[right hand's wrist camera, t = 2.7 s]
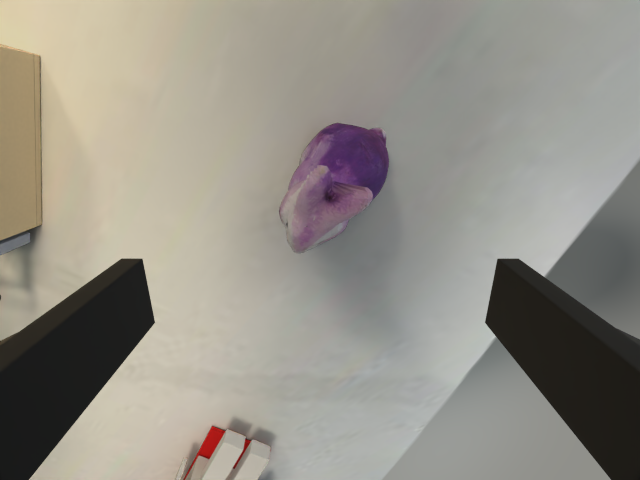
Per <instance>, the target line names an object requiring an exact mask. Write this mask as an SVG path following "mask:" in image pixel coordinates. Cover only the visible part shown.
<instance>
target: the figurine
mask: <svg viewBox="0 0 640 480" xmlns="http://www.w3.org/2000/svg"><path fill="white" fill-rule="evenodd" d="M388 166H389V158H388V152H387V148H386V133H385V131H384V130H383V129H381V128H373V129H370V130H367V129H365V128H361V127H357V126H353V125H347V124H340V123H335V124H332V125H330V126H327V127H326V128H324V129H323V130H321V131H320V132H319V133H318V134H317V135H316V136H315V138H314V139H313V140H312V141H311V142H310V143H309V145H308V146H307V147H306V149H305V150H304V152H303V153H302V156H301V159H300V163H299V167H298V168H297V169H296V171H295V172H294V174H293V176H292V179H291V181H290V183H289V188H288V192H287V194H286V195H285V197H284V198H283V200H282V203H281V206H280V210H279V214H280V218H281V221H282V222H283V224H284V226H285V228H286V232H287V241H288V243H289V245H290V247H291V249H292V250H293V251H294V252H296V253H303V252H306V251H308V250H310V249H312V248H314V247H315V246H317V245H319V244H321V243H323V242H325V241H328V240H330V239H332V238H334V237H336V236H337V235H339V234H340V233H341V232H343V231H344V229H345V228H346V226H347V224H348V221H349V219H350V218H352V217H354V216H356V215H357V214H359V213H360V212H362V211H363V210H364V209H366V208H367V206H368V205H369V204H370V203H371V202H372V200H373V199H374V198H375V197H376V195H377V194H378V193H379V192H380V190H381V188H382V186H383V184H384V182H385V179H386V176H387V172H388Z"/></svg>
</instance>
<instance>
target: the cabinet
mask: <svg viewBox="0 0 640 480" xmlns="http://www.w3.org/2000/svg"><path fill="white" fill-rule="evenodd" d="M40 225H42V211H41V130H40V56H39V55H37V54H33V53H29V52H26V51H22V50H19V49H15V48H12V47H8V46H5V45H1V44H0V240H3V239H6V238H8V237H11V236H13V235H16V234H19V233H21V232H24V231H26V230H29V229H32V228H34V227H36V226H40Z"/></svg>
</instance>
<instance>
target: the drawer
mask: <svg viewBox="0 0 640 480" xmlns="http://www.w3.org/2000/svg"><path fill="white" fill-rule="evenodd" d="M28 243H30V233H29V232H21V233H19V234H16V235H13V236H11V237H8V238H6V239H3V240H0V255H2V254H4V253H7V252H9V251H11V250H14V249H16V248H18V247H21V246H23V245H25V244H28ZM0 300H1V295H0Z"/></svg>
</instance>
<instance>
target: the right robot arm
mask: <svg viewBox="0 0 640 480" xmlns="http://www.w3.org/2000/svg"><path fill="white" fill-rule="evenodd" d="M154 323H155V321H154V316H153V311H152V306H151V301H150V295H149V290H148V285H147V280H146V275H145V270H144V265H143V260H142V259H121V260H119V261H118V262H116V263H115V264H114V265H112V266H111V267H109V268H108V269H107V270H105V271H104V272H102V273H101V274H100V275H98V276H97V277H95V278H94V279H93V280H91V281H90V282H88V283H87V284H86V285H84V286H83V287H81V288H80V289H79V290H77V291H76V292H74V293H73V294H72V295H70V296H69V297H67V298H66V299H65V300H63V301H62V302H60V303H59V304H58V305H56V306H55V307H53V308H52V309H51V310H49V311H48V312H46V313H45V314H44V315H42V316H41V317H39V318H38V319H37V320H35V321H34V322H32V323H31V324H30V325H28V326H27V327H25V328H24V329H23V330H21V331H20V332H18V333H16V334H14V335H12V336H10V337H8V338H6V339H4V340H2V341H0V480H29V479H30V477H31V476H32V475H33V474H34V473H35V471H36V470H37V469H38V468H39V466H40V465H41V464H42V463H43V461H44V460H45V459H46V458H47V456H48V455H49V454H50V453H51V451H52V450H53V449H54V448H55V446H56V445H57V444H58V443H59V441H60V440H61V439H62V438H63V436H64V435H65V434H66V433H67V431H68V430H69V429H70V428H71V426H72V425H73V424H74V423H75V421H76V420H77V419H78V418H79V416H80V415H81V414H82V413H83V411H84V410H85V409H86V408H87V407H88V405H89V404H90V403H91V402H92V400H93V399H94V398H95V397H96V395H97V394H98V393H99V392H100V390H101V389H102V388H103V387H104V385H105V384H106V383H107V382H108V380H109V379H110V378H111V377H112V375H113V374H114V373H115V372H116V370H117V369H118V368H119V367H120V365H121V364H122V363H123V362H124V360H125V359H126V358H127V357H128V355H129V354H130V353H131V352H132V350H133V349H134V348H135V347H136V345H137V344H138V343H139V342H140V340H141V339H142V338H143V337H144V336H145V334H146V333H147V332H148V331H149V329H150V328H151V327H152V326H153V324H154ZM485 323H486V324H487V326H488V327H489V328H490V329H491V331H492V332H493V333H494V334H495V336H496V337H497V338H498V339H499V340H500V342H501V343H502V344H503V345H504V347H505V348H506V349H507V350H508V352H509V353H510V354H511V355H512V357H513V358H514V359H515V360H516V362H517V363H518V364H519V365H520V367H521V368H522V369H523V370H524V372H525V373H526V374H527V375H528V377H529V378H530V379H531V380H532V382H533V383H534V384H535V385H536V387H537V388H538V389H539V390H540V392H541V393H542V394H543V395H544V397H545V398H546V399H547V400H548V402H549V403H550V404H551V405H552V406H553V408H554V409H555V410H556V411H557V413H558V414H559V415H560V416H561V418H562V419H563V420H564V421H565V423H566V424H567V425H568V426H569V428H570V429H571V430H572V431H573V433H574V434H575V435H576V436H577V438H578V439H579V440H580V441H581V443H582V444H583V445H584V446H585V448H586V449H587V450H588V451H589V453H590V454H591V455H592V456H593V458H594V459H595V460H596V461H597V462H598V464H599V465H600V466H601V467H602V469H603V470H604V471H605V472H606V474H607V475H608V476H609V477H610V479H611V480H640V340H639V339H637V338H635V337H633V336H631V335H629V334H627V333H625V332H623V331H621V330H619V329H616V328H615V327H613V326H612V325H610V324H609V323H608V322H606V321H605V320H603V319H602V318H601V317H599V316H598V315H596V314H595V313H593V312H592V311H591V310H589V309H588V308H587V307H585V306H584V305H582V304H581V303H580V302H578V301H577V300H575V299H574V298H573V297H571V296H570V295H568V294H567V293H565V292H564V291H563V290H561V289H560V288H559V287H557V286H556V285H554V284H553V283H552V282H550V281H549V280H547V279H546V278H545V277H543V276H542V275H540V274H539V273H538V272H536V271H535V270H533V269H532V268H531V267H529V266H528V265H526V264H525V263H524V262H522V261H521V260H519V259H498V260H497V265H496V270H495V275H494V280H493V285H492V290H491V295H490V301H489V306H488V311H487V316H486V321H485Z"/></svg>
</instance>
